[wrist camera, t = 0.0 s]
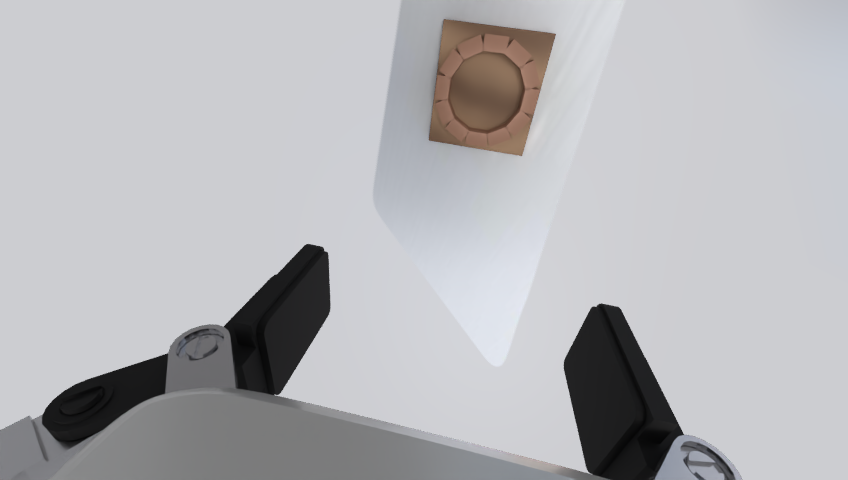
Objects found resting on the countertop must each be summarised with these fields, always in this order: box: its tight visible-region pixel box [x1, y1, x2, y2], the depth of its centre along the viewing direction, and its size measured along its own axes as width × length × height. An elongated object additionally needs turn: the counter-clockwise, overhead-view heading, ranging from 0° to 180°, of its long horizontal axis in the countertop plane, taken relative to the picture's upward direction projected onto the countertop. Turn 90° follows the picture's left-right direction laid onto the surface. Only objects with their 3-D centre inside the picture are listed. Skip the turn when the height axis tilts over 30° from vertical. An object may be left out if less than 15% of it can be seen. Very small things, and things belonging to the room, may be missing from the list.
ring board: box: [429, 19, 556, 156], centre depth 35 cm, size 12×11×3 cm
